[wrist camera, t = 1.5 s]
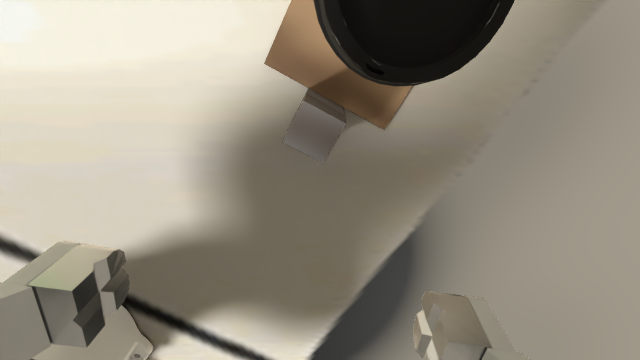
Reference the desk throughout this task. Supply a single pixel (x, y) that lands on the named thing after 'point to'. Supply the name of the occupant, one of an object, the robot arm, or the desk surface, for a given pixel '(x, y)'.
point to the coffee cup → (409, 35)
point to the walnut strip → (324, 84)
